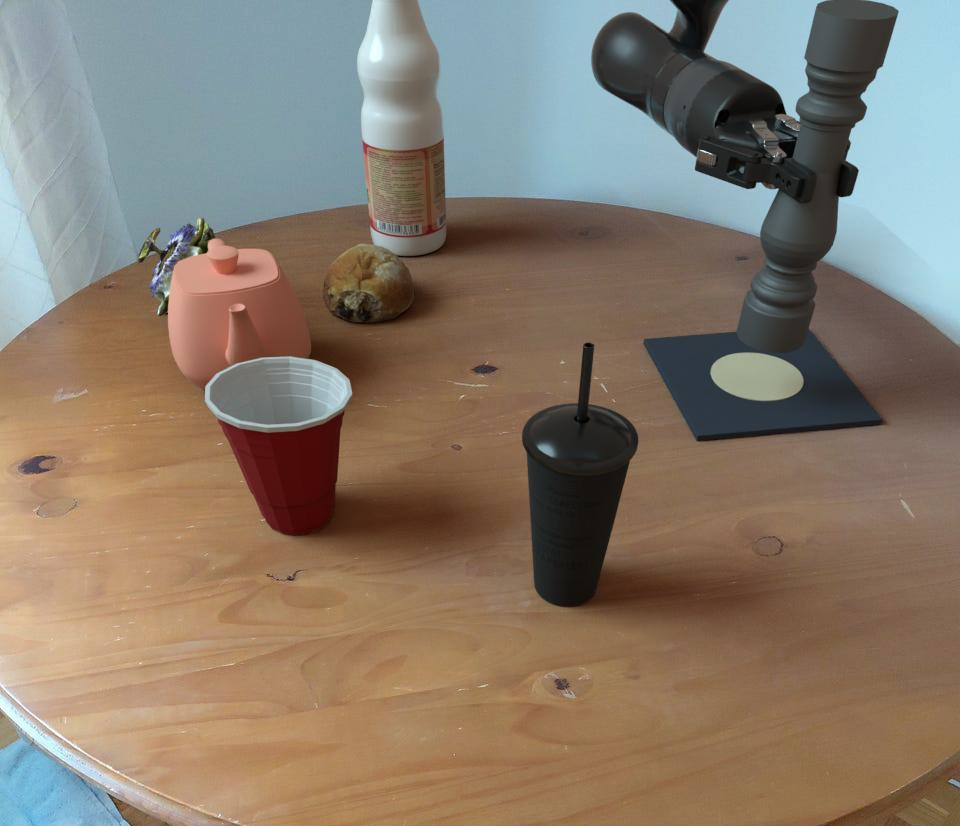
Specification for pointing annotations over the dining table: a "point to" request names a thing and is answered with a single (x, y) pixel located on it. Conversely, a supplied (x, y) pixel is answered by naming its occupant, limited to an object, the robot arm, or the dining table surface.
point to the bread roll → (368, 285)
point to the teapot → (232, 312)
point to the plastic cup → (284, 435)
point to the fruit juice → (402, 130)
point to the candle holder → (815, 170)
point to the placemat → (756, 387)
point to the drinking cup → (575, 490)
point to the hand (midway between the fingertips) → (830, 186)
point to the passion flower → (174, 256)
